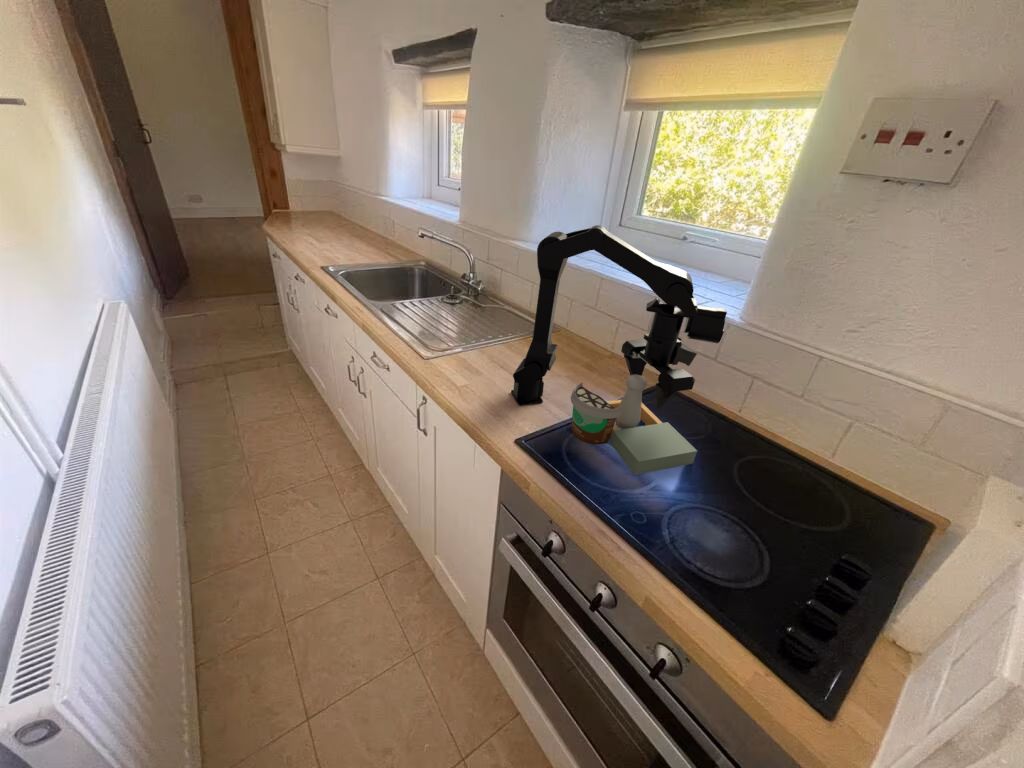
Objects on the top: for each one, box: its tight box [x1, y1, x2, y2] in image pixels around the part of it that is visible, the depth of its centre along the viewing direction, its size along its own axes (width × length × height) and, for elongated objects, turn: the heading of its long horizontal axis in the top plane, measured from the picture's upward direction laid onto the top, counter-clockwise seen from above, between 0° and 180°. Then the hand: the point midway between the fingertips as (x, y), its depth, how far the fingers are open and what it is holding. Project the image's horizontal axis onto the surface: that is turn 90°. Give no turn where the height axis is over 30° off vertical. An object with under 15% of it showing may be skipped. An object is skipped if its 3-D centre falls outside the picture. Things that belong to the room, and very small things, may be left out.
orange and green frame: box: [606, 399, 698, 476], centre depth 91 cm, size 14×21×4 cm, turn 18°
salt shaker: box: [615, 374, 648, 430], centre depth 92 cm, size 6×6×13 cm
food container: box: [570, 381, 621, 446], centre depth 88 cm, size 12×6×10 cm, turn 35°
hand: (646, 396), depth 92 cm, fingers open, 9 cm apart
